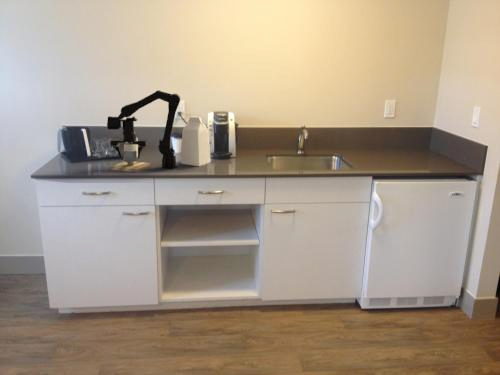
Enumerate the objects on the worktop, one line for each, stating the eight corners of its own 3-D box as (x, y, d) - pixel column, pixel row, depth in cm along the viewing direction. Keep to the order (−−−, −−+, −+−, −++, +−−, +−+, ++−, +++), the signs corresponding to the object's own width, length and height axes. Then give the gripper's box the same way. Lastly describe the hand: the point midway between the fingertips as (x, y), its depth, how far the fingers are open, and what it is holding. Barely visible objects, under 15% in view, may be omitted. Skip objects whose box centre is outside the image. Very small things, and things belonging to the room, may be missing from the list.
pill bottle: (141, 156, 270) (140, 131, 266) (132, 159, 263) (131, 133, 259) (130, 155, 273) (129, 130, 269) (121, 158, 266) (120, 132, 262)
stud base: (150, 165, 249) (150, 159, 248) (136, 172, 235) (136, 165, 234) (125, 163, 253) (125, 156, 252) (109, 169, 239) (109, 162, 238)
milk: (181, 163, 255) (180, 117, 247) (193, 159, 265) (192, 114, 257) (199, 166, 250) (198, 118, 242) (210, 162, 259) (210, 116, 252)
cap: (135, 158, 247) (134, 149, 246) (138, 161, 241) (137, 151, 240) (122, 159, 244) (121, 150, 243) (125, 162, 238) (124, 152, 237)
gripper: (149, 127, 246) (150, 155, 250) (114, 126, 246) (116, 155, 250) (144, 130, 235) (146, 160, 240) (108, 130, 235) (111, 159, 240)
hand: (130, 158), depth 243 cm, fingers open, 9 cm apart
